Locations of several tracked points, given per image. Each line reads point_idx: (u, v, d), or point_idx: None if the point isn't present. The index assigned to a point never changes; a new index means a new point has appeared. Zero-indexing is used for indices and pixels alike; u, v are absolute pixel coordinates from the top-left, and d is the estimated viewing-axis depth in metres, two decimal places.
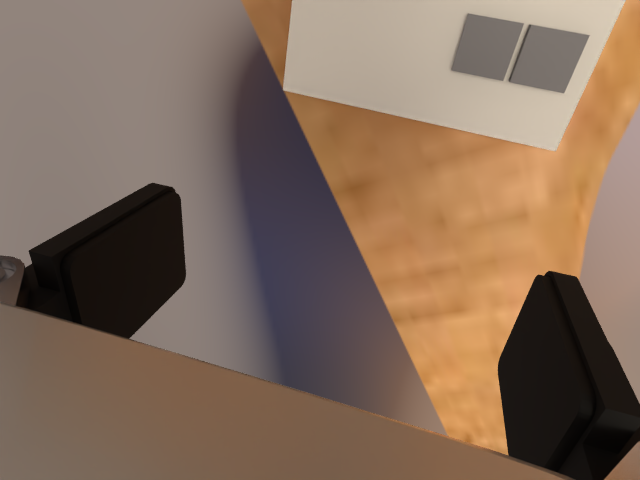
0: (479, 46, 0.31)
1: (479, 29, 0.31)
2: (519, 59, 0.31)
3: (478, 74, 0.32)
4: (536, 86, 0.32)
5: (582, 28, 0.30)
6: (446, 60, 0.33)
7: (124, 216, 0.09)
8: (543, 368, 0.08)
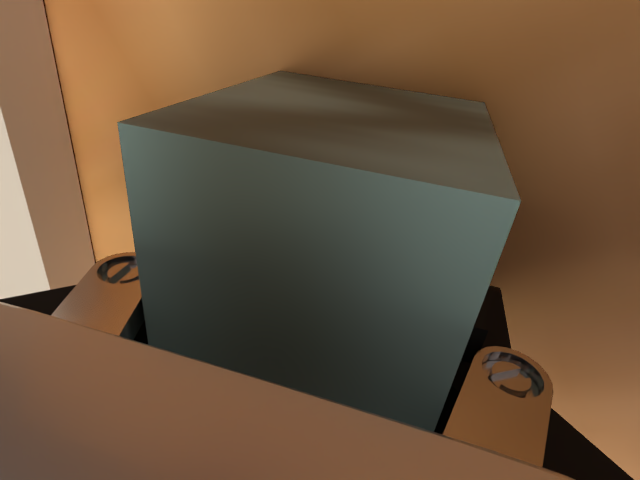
0: None
1: None
2: None
3: None
4: None
5: None
6: None
7: None
8: None
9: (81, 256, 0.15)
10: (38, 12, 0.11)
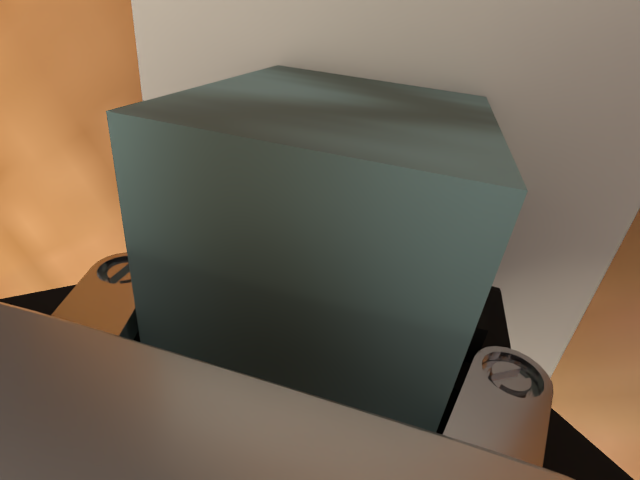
0: None
1: None
2: None
3: None
4: None
5: None
6: None
7: None
8: None
9: None
10: None
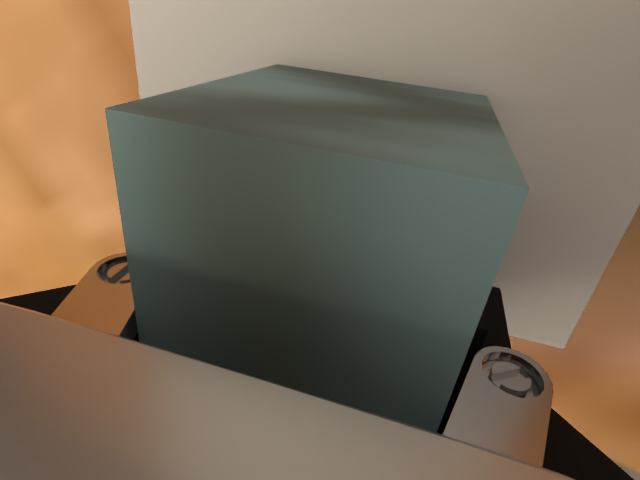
0: None
1: None
2: None
3: None
4: None
5: None
6: None
7: None
8: None
9: None
10: None
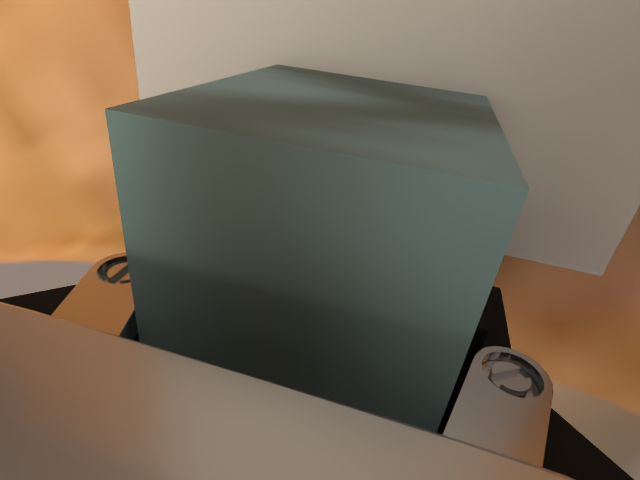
0: None
1: None
2: None
3: None
4: None
5: None
6: None
7: None
8: None
9: None
10: None
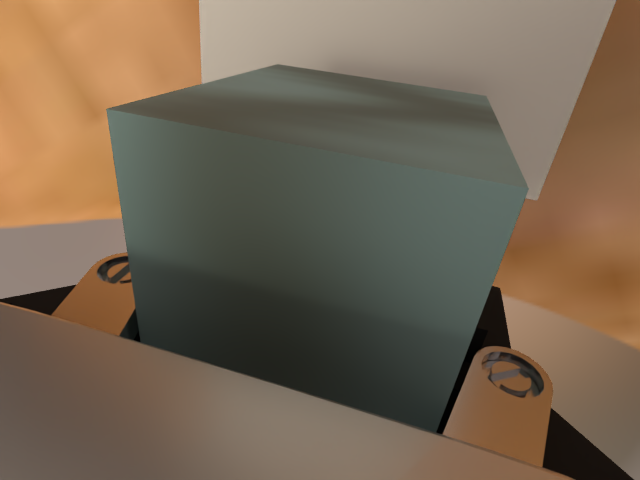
0: None
1: None
2: None
3: None
4: None
5: None
6: None
7: None
8: None
9: None
10: None
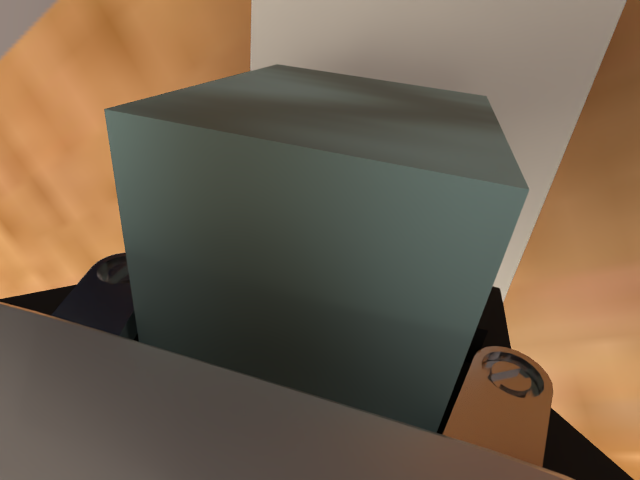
0: None
1: None
2: None
3: None
4: None
5: None
6: None
7: None
8: None
9: None
10: None
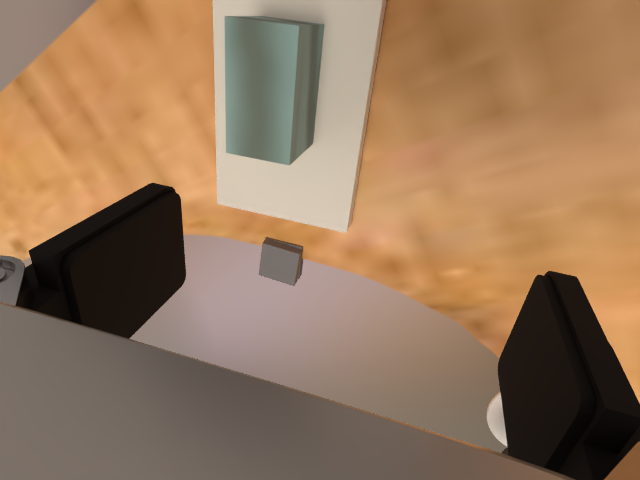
0: (279, 260, 0.43)
1: (290, 260, 0.42)
2: None
3: (261, 260, 0.43)
4: None
5: (304, 205, 0.38)
6: None
7: (124, 216, 0.09)
8: (543, 368, 0.08)
9: (373, 76, 0.33)
10: None
